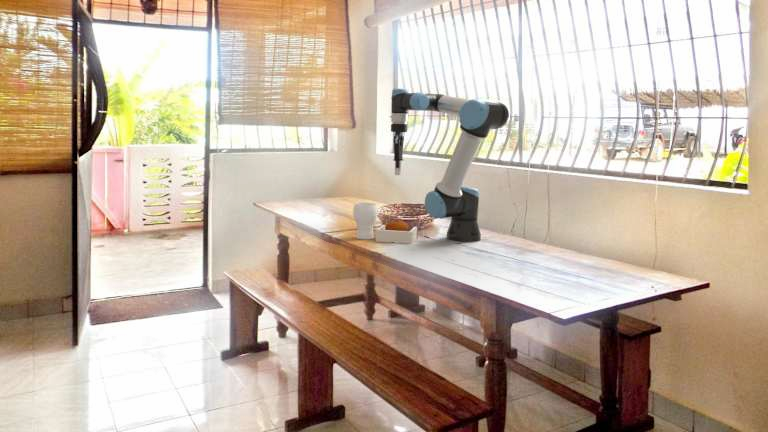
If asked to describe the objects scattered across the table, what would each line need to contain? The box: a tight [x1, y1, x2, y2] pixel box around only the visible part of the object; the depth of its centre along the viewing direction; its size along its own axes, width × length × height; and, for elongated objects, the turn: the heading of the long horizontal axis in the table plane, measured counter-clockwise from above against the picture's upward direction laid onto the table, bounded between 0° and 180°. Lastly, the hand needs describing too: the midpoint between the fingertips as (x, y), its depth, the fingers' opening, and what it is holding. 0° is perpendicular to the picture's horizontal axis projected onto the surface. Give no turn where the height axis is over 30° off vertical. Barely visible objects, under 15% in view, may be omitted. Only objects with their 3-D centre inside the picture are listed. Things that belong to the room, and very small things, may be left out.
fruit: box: [385, 220, 410, 231], centre depth 274 cm, size 11×10×8 cm
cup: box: [352, 202, 379, 240], centre depth 274 cm, size 11×11×15 cm
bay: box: [375, 219, 419, 245], centre depth 273 cm, size 16×16×7 cm
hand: (397, 174), depth 289 cm, fingers closed
